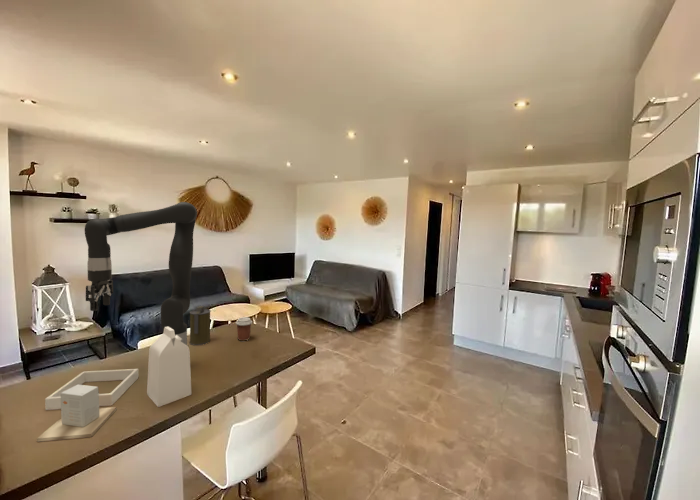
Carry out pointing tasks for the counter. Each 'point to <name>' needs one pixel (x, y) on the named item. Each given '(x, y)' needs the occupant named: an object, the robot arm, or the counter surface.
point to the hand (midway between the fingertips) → (100, 307)
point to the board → (76, 428)
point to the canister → (199, 326)
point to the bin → (90, 376)
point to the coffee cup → (243, 328)
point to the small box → (79, 405)
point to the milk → (168, 369)
